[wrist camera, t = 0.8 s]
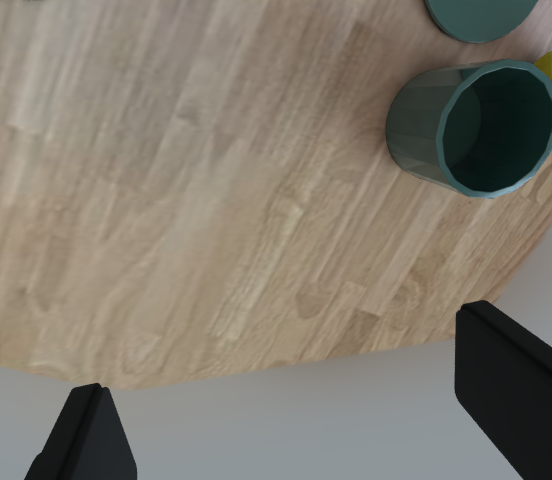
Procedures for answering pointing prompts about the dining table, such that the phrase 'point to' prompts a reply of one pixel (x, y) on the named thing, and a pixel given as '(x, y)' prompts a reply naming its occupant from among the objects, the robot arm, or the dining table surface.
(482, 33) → the lid
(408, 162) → the pot
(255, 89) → the dining table surface
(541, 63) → the lemon
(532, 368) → the robot arm
